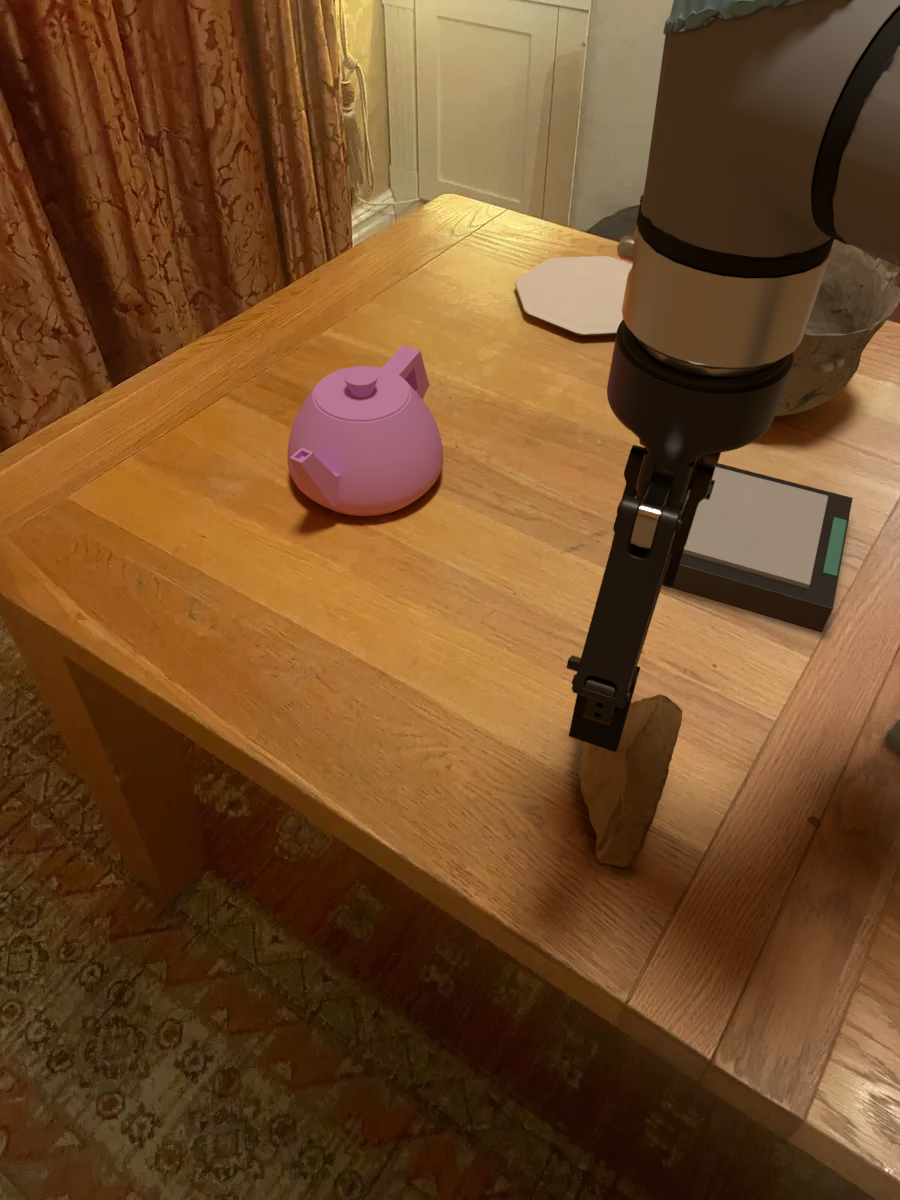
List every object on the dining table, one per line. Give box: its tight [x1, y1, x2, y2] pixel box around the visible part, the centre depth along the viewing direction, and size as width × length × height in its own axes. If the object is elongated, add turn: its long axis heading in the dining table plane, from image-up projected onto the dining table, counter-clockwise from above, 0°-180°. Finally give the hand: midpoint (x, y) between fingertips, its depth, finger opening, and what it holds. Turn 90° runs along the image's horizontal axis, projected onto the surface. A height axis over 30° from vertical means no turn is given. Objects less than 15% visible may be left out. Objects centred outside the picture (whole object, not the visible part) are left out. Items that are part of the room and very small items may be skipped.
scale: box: [662, 462, 853, 632], centre depth 85 cm, size 16×16×4 cm
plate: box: [514, 255, 633, 337], centre depth 118 cm, size 20×20×2 cm
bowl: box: [775, 239, 900, 417], centre depth 99 cm, size 22×22×15 cm
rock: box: [577, 693, 683, 868], centre depth 65 cm, size 11×9×10 cm
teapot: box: [286, 344, 444, 517], centre depth 89 cm, size 22×16×12 cm
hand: (626, 652), depth 54 cm, fingers open, 13 cm apart
